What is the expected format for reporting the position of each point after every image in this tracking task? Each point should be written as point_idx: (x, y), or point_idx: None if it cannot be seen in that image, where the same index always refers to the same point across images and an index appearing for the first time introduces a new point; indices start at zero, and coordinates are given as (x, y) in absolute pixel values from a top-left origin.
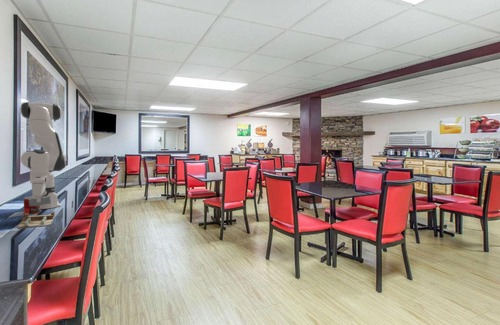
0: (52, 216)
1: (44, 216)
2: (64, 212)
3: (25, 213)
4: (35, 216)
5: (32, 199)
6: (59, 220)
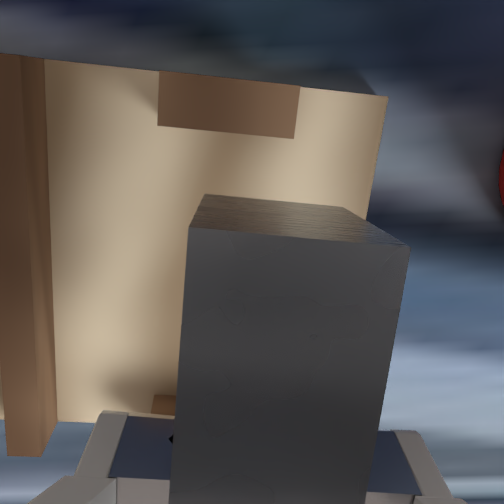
0: (13, 440)
1: (3, 360)
2: (481, 488)
3: (285, 95)
4: (20, 251)
5: (181, 348)
6: (47, 457)
